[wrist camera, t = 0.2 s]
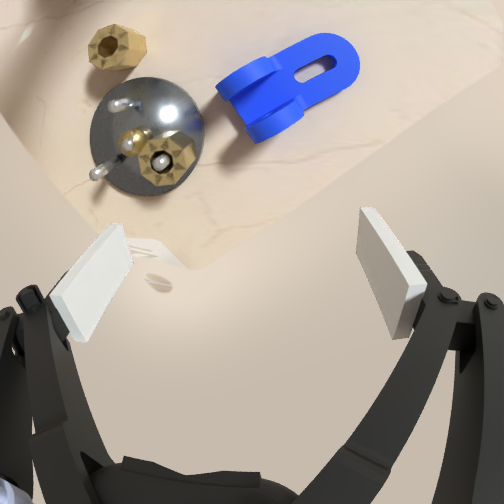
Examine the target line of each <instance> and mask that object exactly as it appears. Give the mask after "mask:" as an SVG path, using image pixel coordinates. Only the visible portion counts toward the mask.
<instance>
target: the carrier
mask: <svg viewBox="0 0 504 504" xmlns="http://www.w3.org/2000/svg"><path fill="white" fill-rule="evenodd" d="M90 145H91V151H92V154H93V157H94V160H95V162H96V164H97V166H98V167H96V168H94V169H93V170H91V171H90V173H89V177H90V179H91V180H92V181H97V180H98V179H100V178H101V177H103V176H105V177H106V179H107V180H108V181H109V182H111V183H112V184H113V185H114V186H116V187H117V188H119V189H121V190H123V191H125V192H127V193H130V194H134V195H139V196H154V195H159V194H162V193H165V192H168V191H170V190H172V189H174V188H175V187H177V186H178V185H180V184H181V183H182V182H183V181H184V180H185V179H186V178H187V177H188V176H189V175H190V174H191V172H192V171H193V169H194V168H195V166H196V165H197V163H198V161H199V159H200V156H201V153H202V149H203V145H204V126H203V120H202V117H201V114H200V111H199V109H198V107H197V105H196V104H195V102H194V101H193V99H192V98H191V97H190V96H189V94H188V93H187V92H186V91H184V90H183V89H182V88H181V87H179V86H178V85H176V84H174V83H172V82H170V81H168V80H164V79H160V78H153V77H142V78H136V79H132V80H129V81H126V82H124V83H122V84H120V85H118V86H117V87H115V88H114V89H112V90H111V91H110V92H109V93H108V94H107V95H106V96H105V97H104V98H103V100H102V101H101V102H100V104H99V106H98V107H97V109H96V111H95V114H94V116H93V119H92V123H91V129H90Z"/></svg>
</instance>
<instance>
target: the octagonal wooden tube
mask: <svg viewBox="0 0 504 504" xmlns="http://www.w3.org/2000/svg"><path fill="white" fill-rule="evenodd" d="M88 53H89V62H90V63H92V64H93V65H95V66H96V67H98V68H99V69H101V70H124V69H128V68H131V67H135V66H137V65H138V64H139V62H140V61H141V59H142V58H143V57H144V55H145V54H146V53H147V49H146V37H145V36H143V35H141V34H140V33H138V32H136V31H135V30H132V29H129V28H126V27H123V26H120V25H117V24H113V25H110V26H107V27H105V28H102V29H99V30H98V31H97V33H96V34H95V36H94V37H93V39H92V40H91V42H90V43H89V45H88Z"/></svg>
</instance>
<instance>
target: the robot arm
mask: <svg viewBox="0 0 504 504" xmlns="http://www.w3.org/2000/svg"><path fill="white" fill-rule="evenodd" d="M356 254H357V256H358V258H359V260H360V262H361V265H362V267H363V269H364V271H365V274H366V276H367V278H368V281H369V283H370V285H371V288H372V290H373V292H374V295H375V297H376V300H377V302H378V304H379V307H380V309H381V311H382V314H383V317H384V319H385V322H386V324H387V327H388V329H389V332H390V335H391V337H392V340H396V339H402V338H409V336H410V333H411V331H412V328H414V332H413V334H412V337H411V338H410V340H409V342H408V344H407V346H406V348H405V350H404V352H403V354H402V356H401V358H400V359H399V361H398V363H397V365H396V367H395V368H394V370H393V372H392V374H391V375H390V377H389V379H388V381H387V382H386V384H385V386H384V387H383V389H382V390H381V392H380V394H379V395H378V397H377V398H376V400H375V401H374V403H373V405H372V406H371V408H370V409H369V411H368V412H367V414H366V415H365V417H364V418H363V420H362V421H361V422H360V424H359V425H358V427H357V428H356V430H355V431H354V432H353V434H352V435H351V436H350V438H349V439H348V440H347V442H346V443H345V444H344V445H343V446H342V447H341V448H340V449H339V450H338V451H337V452H336V453H335V455H334V456H333V457H332V458H331V460H330V461H329V462H328V463H327V464H326V466H325V467H324V468H323V469H322V470H321V472H320V473H319V474H318V475H317V476H316V477H315V478H314V480H313V481H312V482H311V483H310V484H309V485H308V486H307V488H305V490H304V491H303V492H302V493H301V494H300V495H297V494H296V493H295V492H293V491H292V490H290V489H288V488H287V487H285V486H283V485H281V484H279V483H276V482H273V481H270V480H266V479H262V478H261V475H260V472H236V471H219V472H212V473H204V474H196V475H183V474H180V473H178V472H175V471H173V470H170V469H168V468H166V467H163V466H161V465H159V464H156V463H154V462H150V461H145V460H140V459H135V458H131V457H127V456H124V457H123V461H122V463H117V464H115V463H114V462H113V460H112V459H111V458H110V456H109V455H108V453H107V451H106V449H105V446H104V444H103V442H102V439H101V437H100V434H99V432H98V430H97V427H96V425H95V422H94V419H93V417H92V414H91V412H90V409H89V406H88V403H87V400H86V397H85V394H84V391H83V389H82V385H81V382H80V379H79V376H78V372H77V369H76V365H75V362H74V358H73V354H72V351H71V346H70V343H69V341H68V340H67V338H66V337H67V335H68V333H69V332H70V334H71V335H72V337H73V338H74V340H75V341H79V342H86V343H87V342H88V340H89V338H90V336H91V335H92V333H93V331H94V329H95V327H96V325H97V324H98V322H99V320H100V318H101V316H102V315H103V313H104V311H105V309H106V308H107V306H108V304H109V303H110V301H111V299H112V297H113V296H114V294H115V293H116V291H117V289H118V287H119V286H120V284H121V283H122V281H123V279H124V278H125V276H126V274H127V273H128V271H129V270H130V268H131V266H132V265H133V263H134V262H133V259H132V256H131V253H130V250H129V246H128V243H127V240H126V237H125V233H124V230H123V226H122V223H121V222H120V223H111V224H110V225H109V226H108V227H107V228H106V229H105V230H104V231H103V232H102V233H101V234H100V235H99V237H98V238H97V239H96V240H95V241H94V242H93V243H92V244H91V245H90V246H89V248H88V249H87V250H86V251H85V252H84V253H83V254H82V256H81V257H80V258H79V259H78V260H77V261H76V263H75V264H74V265H73V266H72V267H71V269H70V270H68V271H67V272H66V273H65V274H64V275H63V276H62V277H61V279H60V280H59V281H58V282H57V284H56V285H55V286H54V288H53V289H52V290H51V291H50V292H49V294H48V295H47V296H46V298H45V299H44V298H43V296H42V294H41V292H40V290H39V288H38V286H37V285H30V286H27V287H25V288H24V289H22V290H21V291H20V292H19V293H18V295H17V296H16V301H17V302H18V304H19V306H20V307H21V309H22V311H23V313H21V314H17V313H16V312H15V310H14V308H13V307H11V306H10V307H6V308H3V309H2V310H1V311H0V504H33V502H32V498H33V464H32V459H33V463H34V467H35V471H36V474H37V477H38V481H39V484H40V487H41V490H42V494H43V497H44V499H45V502H46V504H370V503H371V502H372V501H373V499H374V498H375V496H376V495H377V493H378V492H379V491H380V489H381V488H382V486H383V485H384V483H385V482H386V480H387V478H388V476H389V474H390V472H391V468H392V466H393V464H394V462H395V461H396V459H397V457H398V456H399V454H400V452H401V450H402V449H403V447H404V445H405V443H406V442H407V440H408V438H409V436H410V434H411V433H412V431H413V429H414V427H415V425H416V423H417V421H418V419H419V417H420V415H421V413H422V411H423V409H424V406H425V404H426V402H427V400H428V398H429V395H430V393H431V391H432V388H433V386H434V384H435V381H436V379H437V377H438V374H439V371H440V369H441V366H442V363H443V361H444V358H445V355H446V353H447V350H455V351H456V355H455V356H456V357H455V378H454V392H453V401H452V410H451V418H450V425H449V431H448V438H447V443H446V448H445V453H444V458H443V463H442V467H441V471H440V476H439V479H438V483H437V487H436V490H435V494H434V497H433V501H432V504H504V304H503V302H502V301H501V300H500V298H498V297H497V296H496V295H494V294H491V293H482V294H480V295H479V297H478V298H477V301H476V302H469V301H463V300H461V297H460V296H459V294H458V293H457V292H455V291H454V290H452V289H450V288H447V287H443V286H442V285H441V283H440V282H439V280H438V279H437V277H436V276H435V275H434V273H433V272H432V270H430V267H429V266H428V265H427V263H426V262H425V260H424V259H423V258H422V256H420V255H419V254H418V253H416V252H415V251H405V249H404V248H403V246H402V245H401V244H400V242H399V241H398V239H397V238H396V237H395V235H394V234H393V233H392V231H391V230H390V228H389V227H388V226H387V225H386V223H385V222H384V220H383V219H382V218H381V216H380V215H379V214H378V212H377V211H376V210H375V209H374V208H373V207H360V214H359V226H358V237H357V247H356ZM12 348H13V349H14V351H15V355H14V354H13V352H12ZM32 416H33V422H34V427H35V434H33V435H32Z"/></svg>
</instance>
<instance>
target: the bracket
mask: <svg viewBox="0 0 504 504" xmlns="http://www.w3.org/2000/svg"><path fill="white" fill-rule="evenodd" d="M323 56H329V57H330V58H332V60H333V62H334V66H333V67H332V68H331V69H330V70H328V71H326V72H324V73H322V74H320V75H318V76H316V77H314V78H312V79H310V80H308V81H306V82H304V83H300V82H298V81H296V80H295V78H294V72H295V71H296V70H297V69H299V68H301V67H303V66H304V65H306V64H308V63H310V62H312V61H314V60H316V59H318V58H320V57H323ZM359 70H360V61H359V57H358V54H357V52H356V50H355V49H354V47H353V46H352V45H351V44H350V43H349V42H348V41H347V40H345V39H344V38H342V37H340V36H338V35H335V34H331V33H320V34H315V35H313V36H311V37H308V38H306V39H304V40H302V41H300V42H298V43H296V44H294V45H292V46H290V47H288V48H286V49H285V50H283V51H281V52H279V53H277V54H275V55H273V56H271V57H269V58H266V57H261V58H259V59H257V60H254V61H252V62H250V63H249V64H247V65H245V66H243V67H241V68H240V69H238V70H237V71H235V72H233V73H232V74H230V75H229V76H227V77H226V78H225V79H223V80H222V81H221V82H219V83H218V84H217V85H216V86H215V88H216V89H217V90H218V92H219V93H220V94H221V96H222V97H223V99H224V100H225V101H227V100H229V101H230V102H231V104H232V105H233V106H234V108H235V109H236V111H237V112H238V113H239V115H240V116H241V118H242V119H243V121H244V122H245V124H246V125H247V126H246V127H245V130H246V131H247V133H248V134H249V136H250V137H251V139H252V140H253V142H254V143H259V142H262V141H264V140H266V139H268V138H270V137H272V136H274V135H276V134H278V133H280V132H281V131H283V130H285V129H286V128H288V127H289V126H291V125H293V124H294V123H295V122H297V121H298V120H300V119H301V118H302V117H303V116H304V113H303V111H304V110H305V109H307V108H309V107H310V106H312V105H314V104H316V103H318V102H320V101H322V100H324V99H326V98H328V97H329V96H331V95H333V94H335V93H337V92H339V91H341V90H343V89H345V88H347V87H349V86H350V85H351V84H352V83H353V82H354V81H355V80H356V78H357V76H358V74H359Z"/></svg>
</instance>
